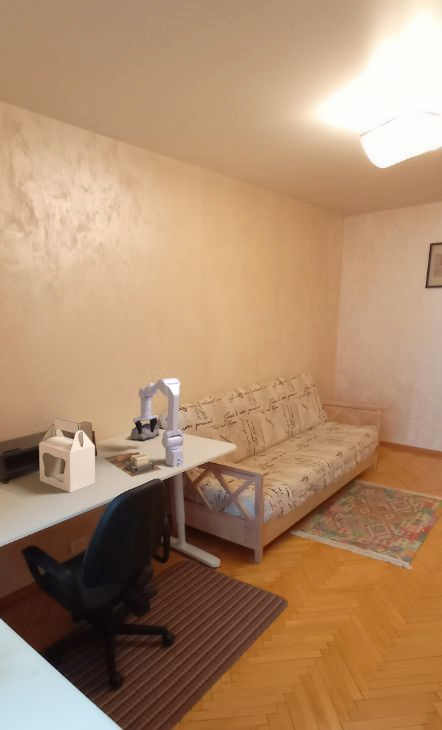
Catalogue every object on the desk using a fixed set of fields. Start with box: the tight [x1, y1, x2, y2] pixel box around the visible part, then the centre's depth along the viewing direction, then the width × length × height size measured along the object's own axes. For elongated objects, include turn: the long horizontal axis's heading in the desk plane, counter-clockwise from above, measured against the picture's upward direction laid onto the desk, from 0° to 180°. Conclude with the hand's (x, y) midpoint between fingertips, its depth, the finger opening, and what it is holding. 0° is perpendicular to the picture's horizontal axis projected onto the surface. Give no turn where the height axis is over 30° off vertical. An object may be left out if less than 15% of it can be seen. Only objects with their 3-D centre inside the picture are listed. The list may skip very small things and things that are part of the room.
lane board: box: [103, 452, 163, 478], centre depth 209 cm, size 32×16×4 cm, turn 39°
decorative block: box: [67, 421, 93, 443], centre depth 211 cm, size 11×6×20 cm, turn 147°
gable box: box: [38, 418, 96, 493], centre depth 185 cm, size 22×13×28 cm, turn 56°
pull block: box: [115, 451, 149, 467], centre depth 206 cm, size 16×12×6 cm
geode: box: [130, 422, 160, 441], centre depth 259 cm, size 20×12×10 cm, turn 146°
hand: (145, 433), depth 232 cm, fingers open, 7 cm apart
